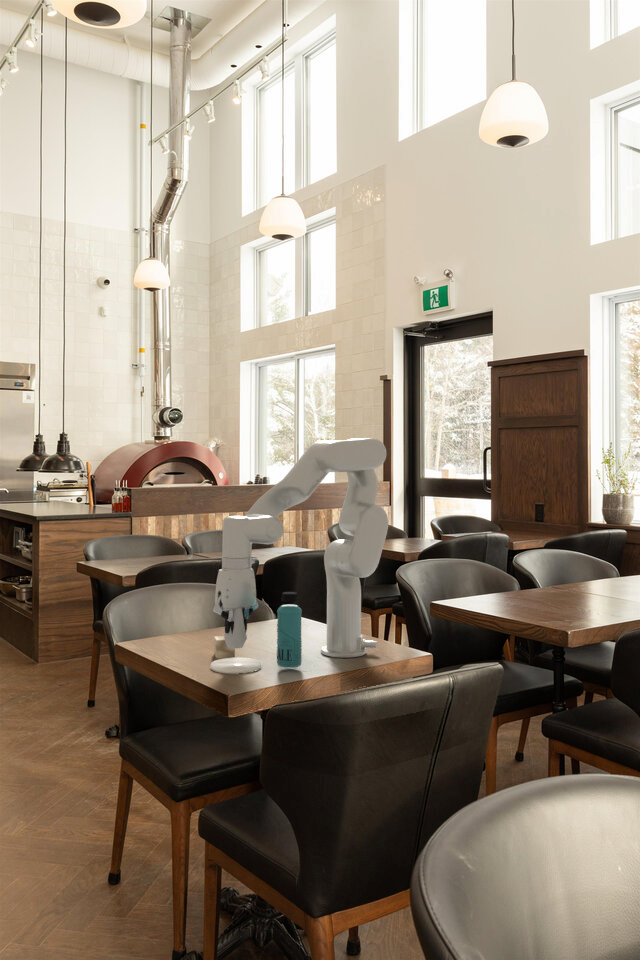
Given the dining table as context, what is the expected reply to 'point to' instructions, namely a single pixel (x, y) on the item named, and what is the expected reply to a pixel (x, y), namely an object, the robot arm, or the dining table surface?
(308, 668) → the dining table surface
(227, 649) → the oak block
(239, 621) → the salt shaker
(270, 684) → the dining table surface
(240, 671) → the side plate
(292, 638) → the beverage bottle
